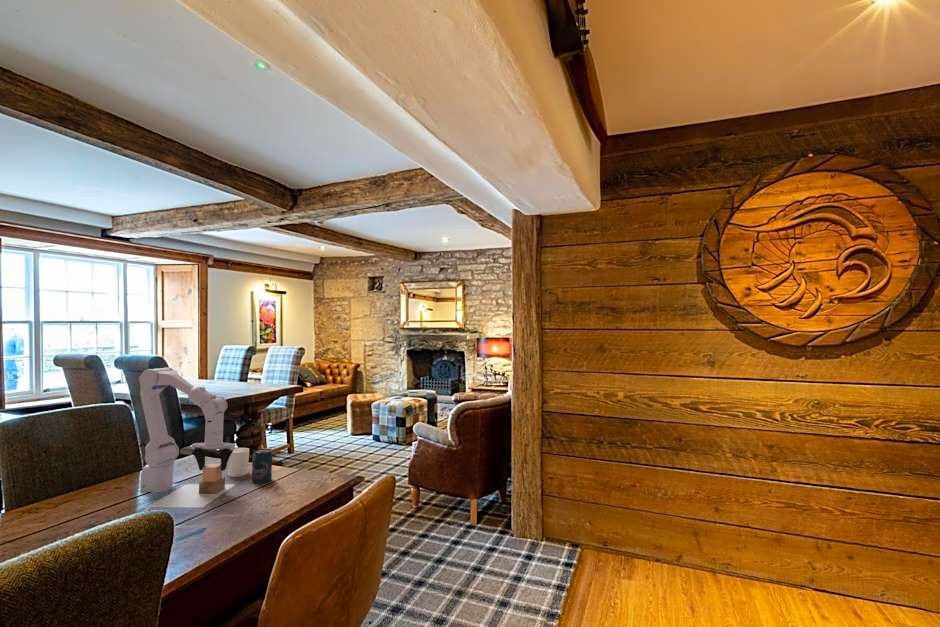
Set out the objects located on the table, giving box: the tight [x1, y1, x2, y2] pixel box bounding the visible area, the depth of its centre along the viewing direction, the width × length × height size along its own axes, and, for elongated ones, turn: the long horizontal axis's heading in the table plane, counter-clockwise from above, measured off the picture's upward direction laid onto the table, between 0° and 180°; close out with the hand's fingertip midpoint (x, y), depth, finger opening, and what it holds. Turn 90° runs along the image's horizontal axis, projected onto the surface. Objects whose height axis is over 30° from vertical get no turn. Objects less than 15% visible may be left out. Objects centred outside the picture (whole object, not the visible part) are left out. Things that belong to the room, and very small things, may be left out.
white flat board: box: [147, 483, 237, 509], centre depth 158 cm, size 18×22×1 cm
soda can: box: [251, 448, 273, 485], centre depth 174 cm, size 7×7×12 cm
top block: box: [201, 463, 223, 482], centre depth 162 cm, size 4×4×5 cm
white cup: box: [227, 447, 250, 478], centre depth 181 cm, size 8×8×10 cm
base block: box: [198, 476, 226, 494], centre depth 162 cm, size 6×6×4 cm
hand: (212, 469), depth 163 cm, fingers open, 7 cm apart
